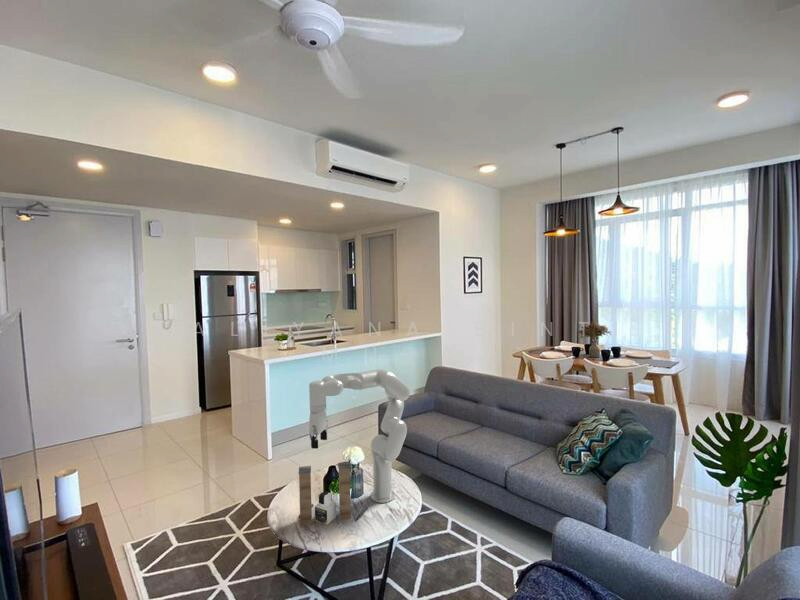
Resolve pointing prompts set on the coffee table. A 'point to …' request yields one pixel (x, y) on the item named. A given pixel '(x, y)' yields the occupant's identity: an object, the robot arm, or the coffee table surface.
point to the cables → (357, 516)
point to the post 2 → (344, 490)
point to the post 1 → (305, 495)
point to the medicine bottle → (325, 508)
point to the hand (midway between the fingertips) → (319, 443)
